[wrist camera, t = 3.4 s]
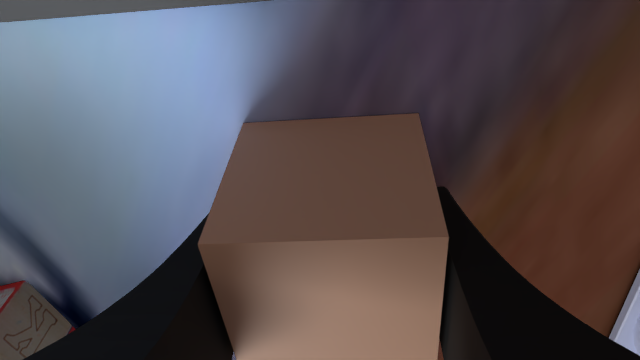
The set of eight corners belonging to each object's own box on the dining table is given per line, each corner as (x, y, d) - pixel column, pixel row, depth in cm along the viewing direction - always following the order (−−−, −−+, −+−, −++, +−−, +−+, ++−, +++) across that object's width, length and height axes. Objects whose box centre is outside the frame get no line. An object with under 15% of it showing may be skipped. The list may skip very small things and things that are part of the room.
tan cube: (418, 113, 13) (449, 236, 9) (413, 243, 16) (435, 380, 12) (243, 122, 13) (197, 244, 9) (269, 247, 16) (243, 380, 12)
